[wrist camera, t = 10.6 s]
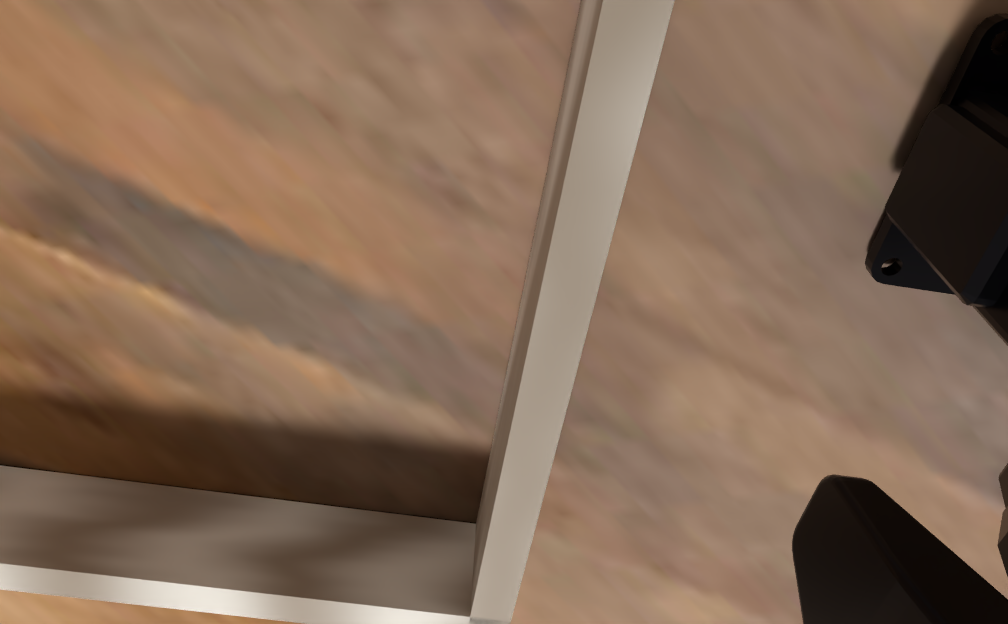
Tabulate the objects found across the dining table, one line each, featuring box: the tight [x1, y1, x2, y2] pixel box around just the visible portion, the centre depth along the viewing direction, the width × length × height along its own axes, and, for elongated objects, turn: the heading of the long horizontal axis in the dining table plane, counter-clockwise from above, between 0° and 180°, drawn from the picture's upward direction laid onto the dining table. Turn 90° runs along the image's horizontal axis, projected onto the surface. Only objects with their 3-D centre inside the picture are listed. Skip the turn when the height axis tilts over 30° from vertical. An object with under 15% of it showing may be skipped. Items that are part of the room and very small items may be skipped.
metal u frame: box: [0, 0, 675, 624], centre depth 18 cm, size 25×22×4 cm
